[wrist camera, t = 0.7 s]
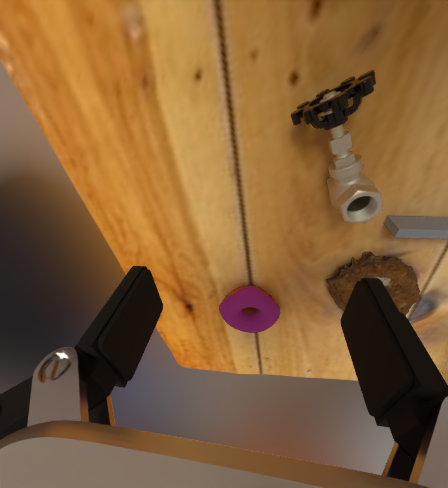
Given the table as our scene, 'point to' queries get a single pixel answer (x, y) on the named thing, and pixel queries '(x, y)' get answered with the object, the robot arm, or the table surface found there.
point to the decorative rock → (387, 270)
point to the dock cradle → (417, 227)
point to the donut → (249, 309)
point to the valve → (344, 148)
